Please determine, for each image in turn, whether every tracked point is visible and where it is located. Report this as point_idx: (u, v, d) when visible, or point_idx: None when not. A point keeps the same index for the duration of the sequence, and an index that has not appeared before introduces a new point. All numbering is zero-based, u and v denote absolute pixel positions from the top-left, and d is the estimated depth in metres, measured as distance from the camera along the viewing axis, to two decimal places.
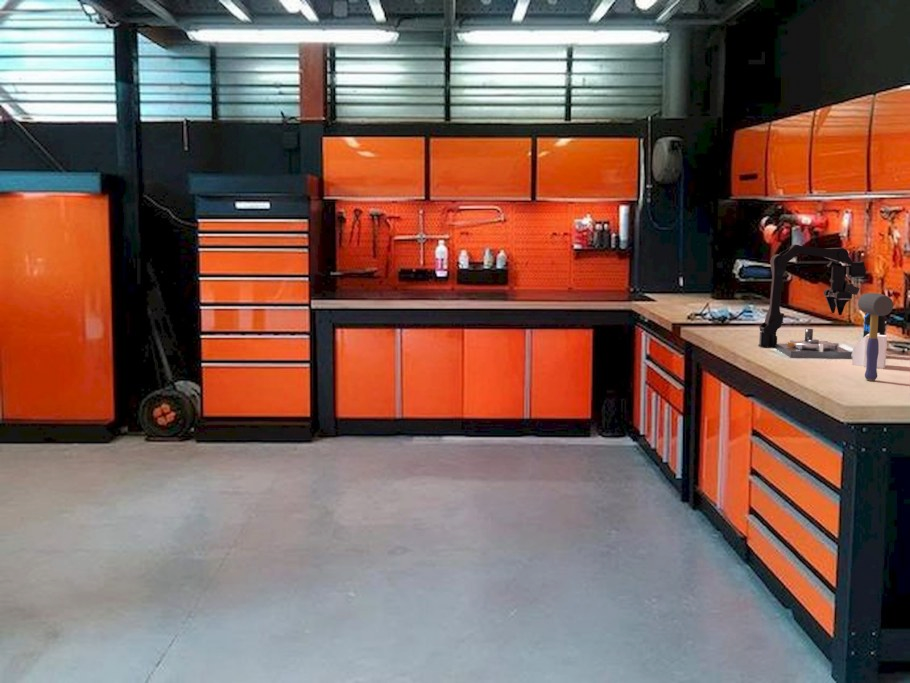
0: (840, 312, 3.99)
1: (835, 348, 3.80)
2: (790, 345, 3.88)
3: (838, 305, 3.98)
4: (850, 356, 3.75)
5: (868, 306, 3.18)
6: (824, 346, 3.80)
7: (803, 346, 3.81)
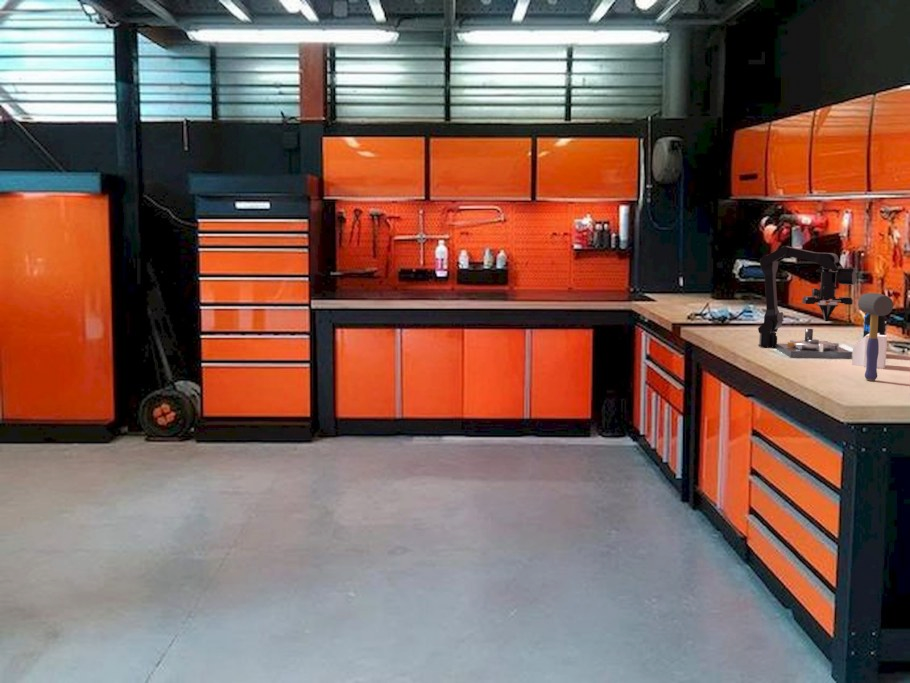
0: None
1: (835, 348, 3.80)
2: (790, 345, 3.88)
3: None
4: (850, 356, 3.75)
5: (868, 306, 3.18)
6: (824, 346, 3.80)
7: (803, 346, 3.81)
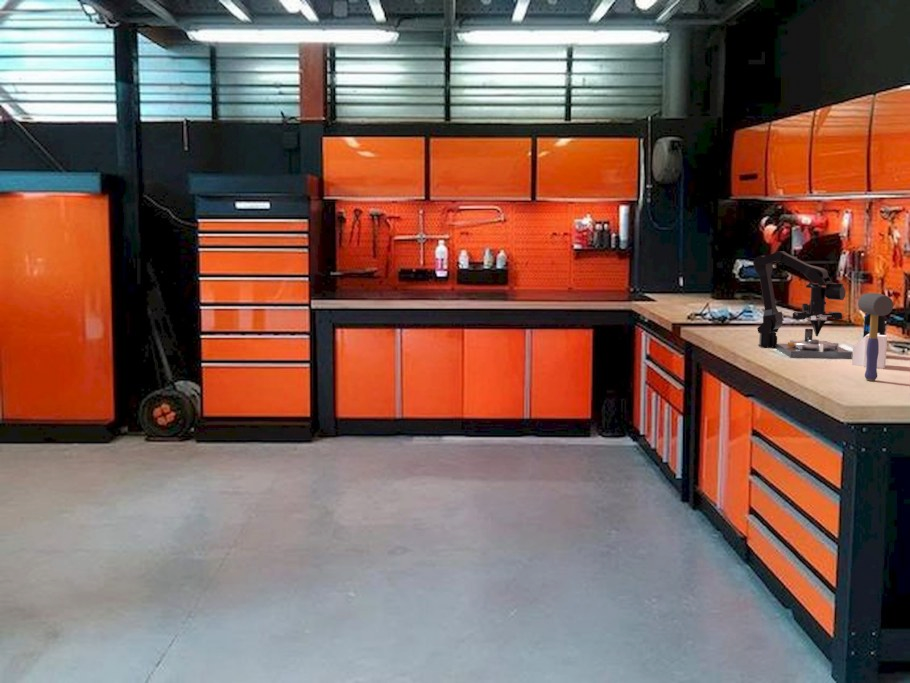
0: None
1: (835, 348, 3.80)
2: (790, 345, 3.88)
3: None
4: (850, 356, 3.75)
5: (868, 306, 3.18)
6: (824, 346, 3.80)
7: (803, 346, 3.81)
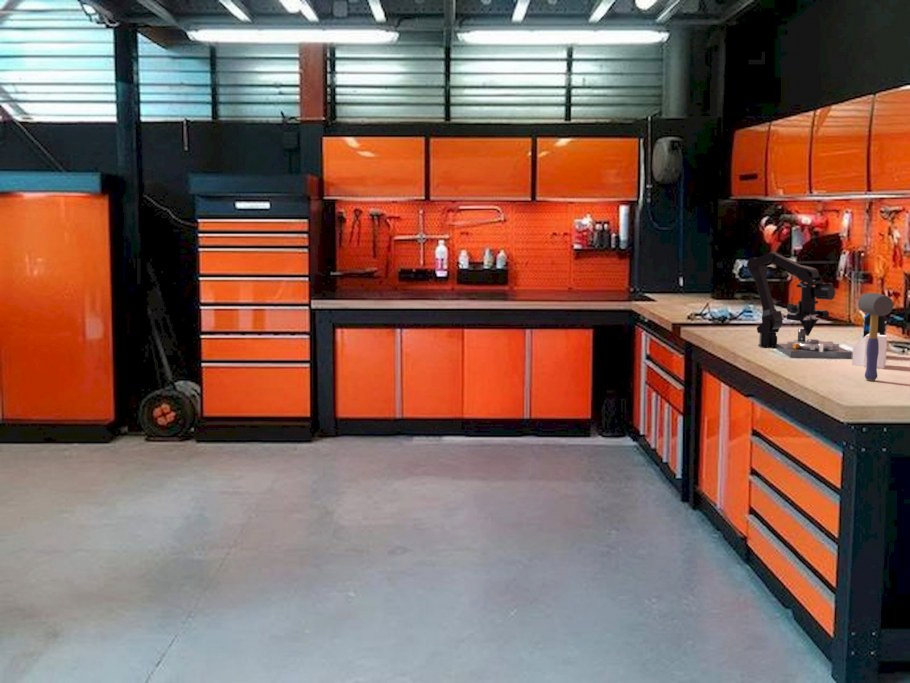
0: None
1: (838, 347, 3.84)
2: (797, 346, 3.83)
3: None
4: (850, 356, 3.75)
5: (868, 306, 3.18)
6: (831, 345, 3.82)
7: (815, 347, 3.79)
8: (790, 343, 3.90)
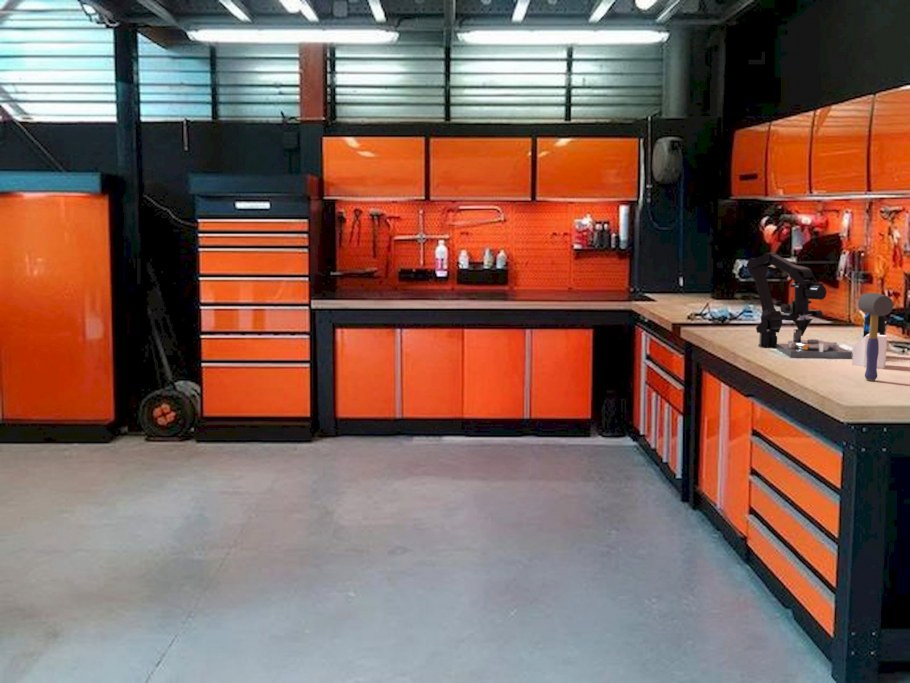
0: None
1: None
2: (808, 348, 3.80)
3: None
4: (850, 356, 3.75)
5: (868, 306, 3.18)
6: None
7: None
8: (794, 344, 3.86)
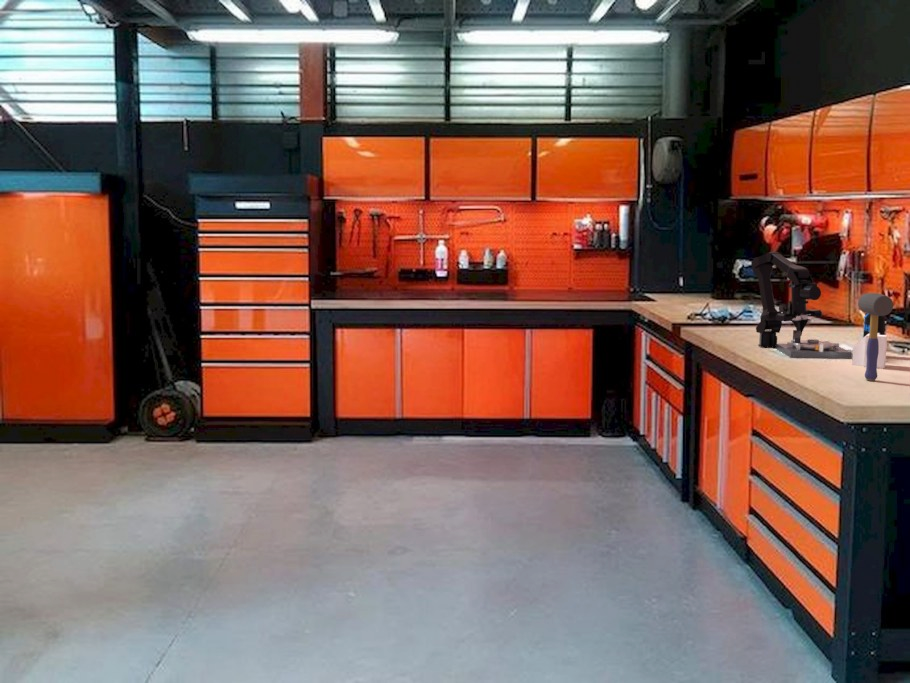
0: None
1: None
2: None
3: None
4: (850, 356, 3.75)
5: (868, 306, 3.18)
6: None
7: None
8: (802, 346, 3.82)
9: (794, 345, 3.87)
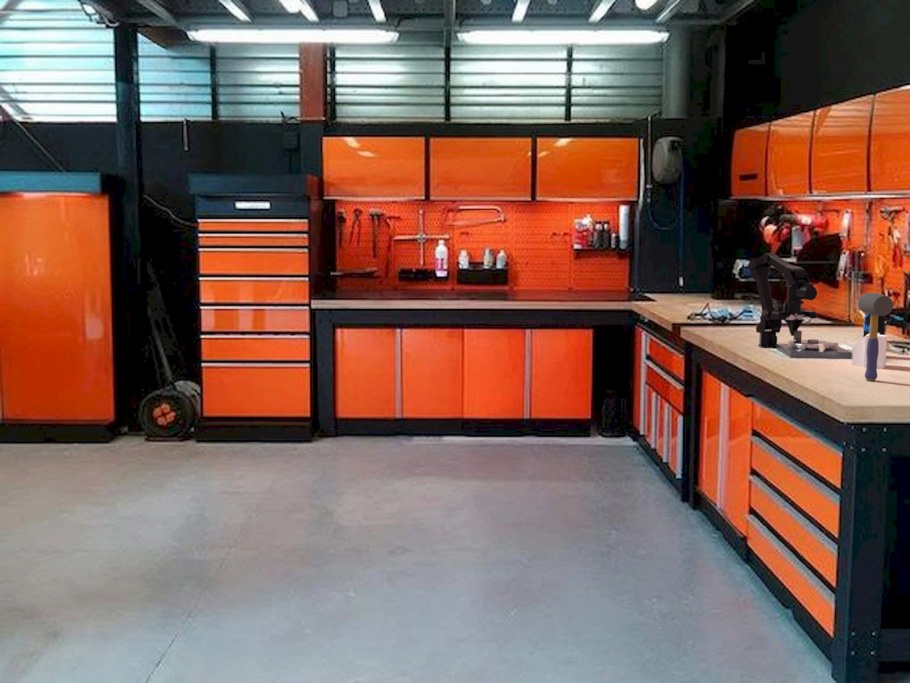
0: None
1: None
2: None
3: None
4: (850, 356, 3.75)
5: (868, 306, 3.18)
6: None
7: None
8: (806, 346, 3.81)
9: (796, 345, 3.85)
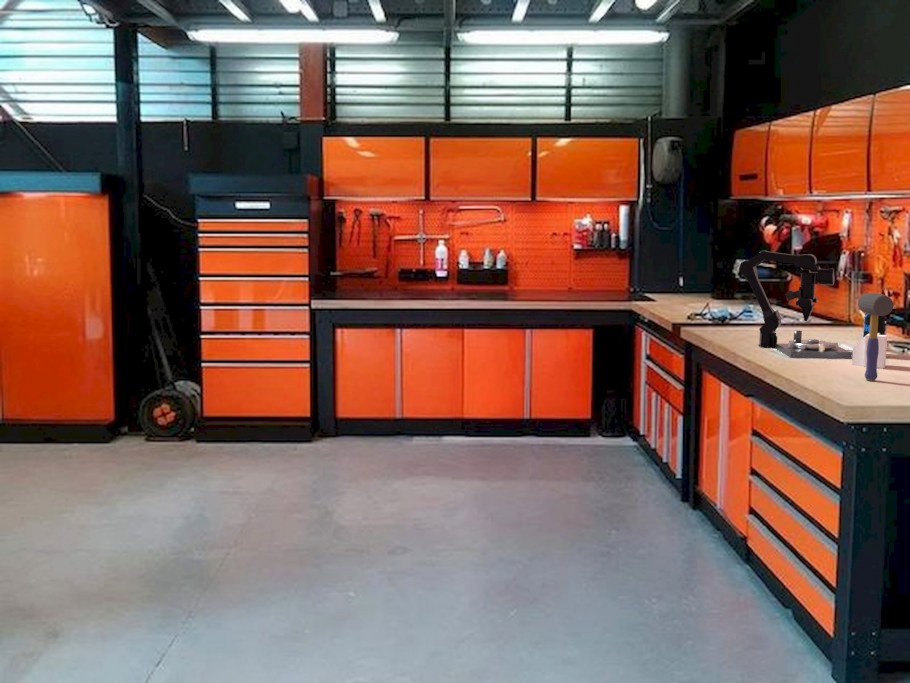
0: None
1: None
2: None
3: None
4: (850, 356, 3.75)
5: (868, 306, 3.18)
6: None
7: None
8: (806, 346, 3.81)
9: (796, 345, 3.85)
